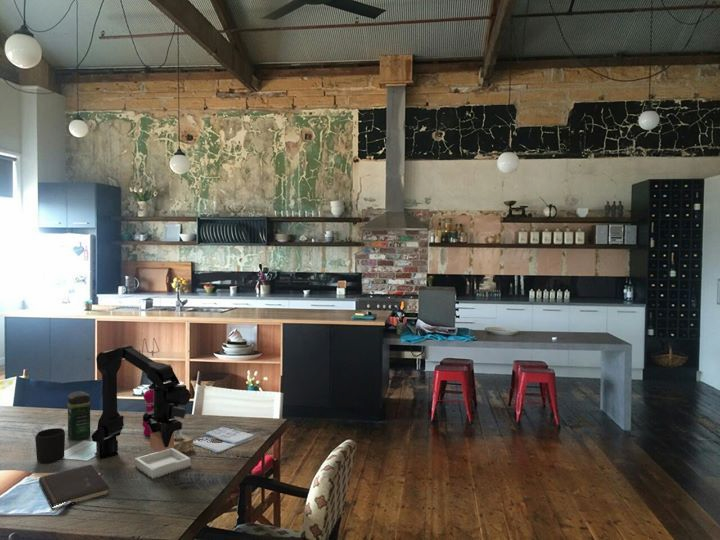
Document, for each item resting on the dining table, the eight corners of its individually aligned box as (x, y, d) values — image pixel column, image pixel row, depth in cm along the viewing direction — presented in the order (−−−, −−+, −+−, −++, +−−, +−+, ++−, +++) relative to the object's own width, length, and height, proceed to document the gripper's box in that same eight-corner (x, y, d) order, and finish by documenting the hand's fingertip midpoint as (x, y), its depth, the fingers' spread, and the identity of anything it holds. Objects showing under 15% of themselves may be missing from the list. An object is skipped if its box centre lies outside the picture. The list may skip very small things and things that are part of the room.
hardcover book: (91, 470, 183) (91, 464, 183) (109, 495, 166) (109, 488, 165) (39, 483, 173) (38, 476, 173) (52, 511, 155) (52, 503, 155)
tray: (152, 478, 176) (152, 470, 176) (134, 466, 185) (134, 458, 185) (190, 466, 186) (190, 458, 186) (172, 455, 196) (171, 447, 195)
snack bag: (255, 439, 214) (255, 434, 214) (217, 455, 197) (217, 450, 197) (223, 429, 225) (223, 425, 224) (185, 444, 208) (185, 439, 208)
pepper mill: (148, 437, 213) (148, 389, 212) (139, 433, 218) (138, 386, 217) (164, 432, 219) (163, 385, 218) (154, 428, 224) (154, 382, 223)
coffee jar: (92, 438, 212) (92, 393, 211) (70, 443, 207) (70, 397, 206) (87, 431, 219) (86, 388, 218) (66, 436, 214) (65, 391, 213)
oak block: (174, 456, 195) (174, 444, 195) (163, 450, 201) (163, 439, 200) (193, 450, 201) (193, 439, 201) (182, 445, 206) (182, 434, 206)
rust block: (158, 452, 181) (158, 438, 181) (150, 447, 185) (150, 433, 185) (174, 447, 186) (174, 433, 185) (166, 442, 190) (166, 429, 189)
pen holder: (71, 455, 194) (70, 429, 194) (50, 466, 185) (49, 438, 185) (51, 452, 197) (50, 427, 196) (29, 462, 188) (28, 435, 187)
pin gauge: (174, 446, 201) (174, 426, 201) (180, 445, 202) (181, 425, 203) (176, 447, 199) (176, 428, 199) (182, 446, 200) (183, 427, 201)
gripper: (196, 402, 184) (196, 445, 185) (171, 391, 197) (171, 432, 198) (166, 409, 176) (166, 454, 177) (142, 397, 189) (142, 439, 190)
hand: (162, 444), depth 185 cm, fingers closed on rust block, 6 cm apart
